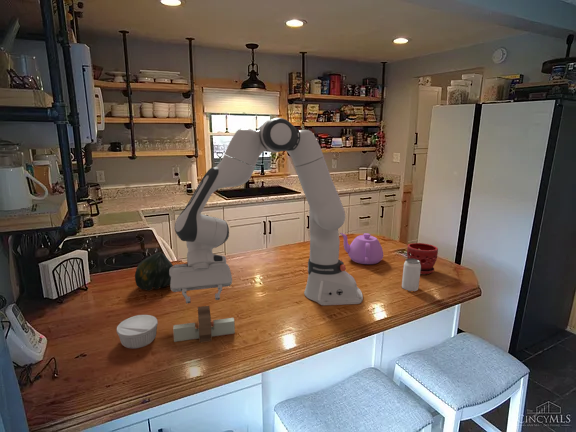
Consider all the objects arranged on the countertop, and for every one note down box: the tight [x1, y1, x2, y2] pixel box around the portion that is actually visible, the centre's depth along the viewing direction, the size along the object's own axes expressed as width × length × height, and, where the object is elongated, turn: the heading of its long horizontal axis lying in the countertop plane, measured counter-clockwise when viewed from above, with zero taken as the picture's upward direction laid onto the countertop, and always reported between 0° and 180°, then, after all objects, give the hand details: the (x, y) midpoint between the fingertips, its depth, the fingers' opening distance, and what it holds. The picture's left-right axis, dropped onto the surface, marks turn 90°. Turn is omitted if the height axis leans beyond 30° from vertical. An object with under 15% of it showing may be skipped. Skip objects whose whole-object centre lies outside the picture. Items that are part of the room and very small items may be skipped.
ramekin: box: [116, 314, 159, 349], centre depth 103 cm, size 11×11×5 cm
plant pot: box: [406, 242, 439, 275], centre depth 158 cm, size 13×13×12 cm
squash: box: [134, 252, 174, 291], centre depth 137 cm, size 14×15×15 cm
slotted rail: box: [172, 317, 236, 343], centre depth 105 cm, size 18×2×4 cm, turn 106°
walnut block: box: [197, 305, 213, 343], centre depth 105 cm, size 7×4×8 cm, turn 16°
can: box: [401, 258, 421, 292], centre depth 140 cm, size 6×6×12 cm
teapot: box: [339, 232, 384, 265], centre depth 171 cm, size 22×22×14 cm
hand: (203, 301), depth 113 cm, fingers open, 8 cm apart
